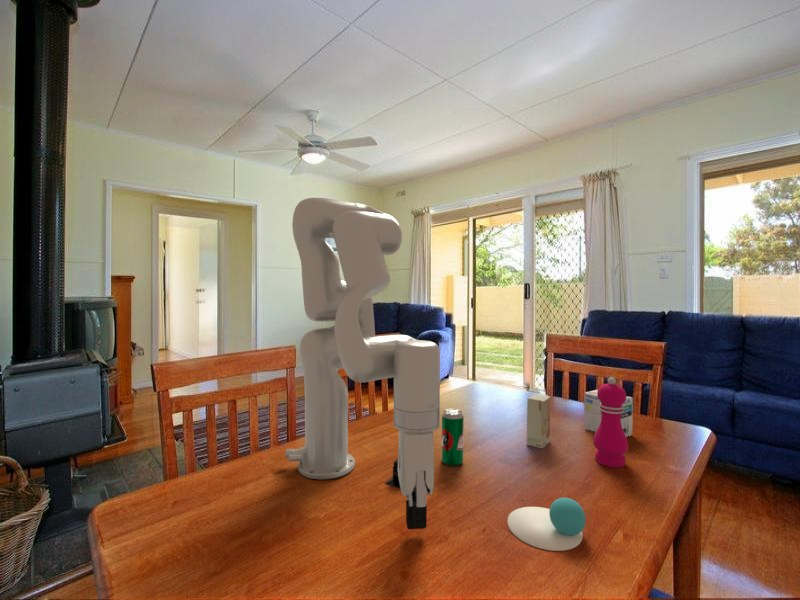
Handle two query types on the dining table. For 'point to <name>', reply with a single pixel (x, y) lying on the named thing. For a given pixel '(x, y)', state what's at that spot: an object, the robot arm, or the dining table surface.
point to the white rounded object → (540, 530)
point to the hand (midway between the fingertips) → (416, 525)
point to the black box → (394, 477)
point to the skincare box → (538, 420)
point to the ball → (567, 516)
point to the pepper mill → (611, 426)
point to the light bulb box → (594, 414)
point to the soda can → (452, 437)
